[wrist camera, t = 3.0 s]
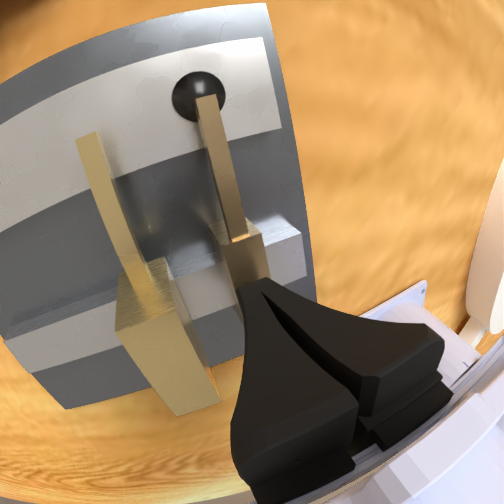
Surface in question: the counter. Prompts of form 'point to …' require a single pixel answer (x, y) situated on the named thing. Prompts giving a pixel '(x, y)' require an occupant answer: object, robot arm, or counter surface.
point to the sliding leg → (149, 302)
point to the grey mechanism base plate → (147, 190)
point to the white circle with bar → (487, 271)
